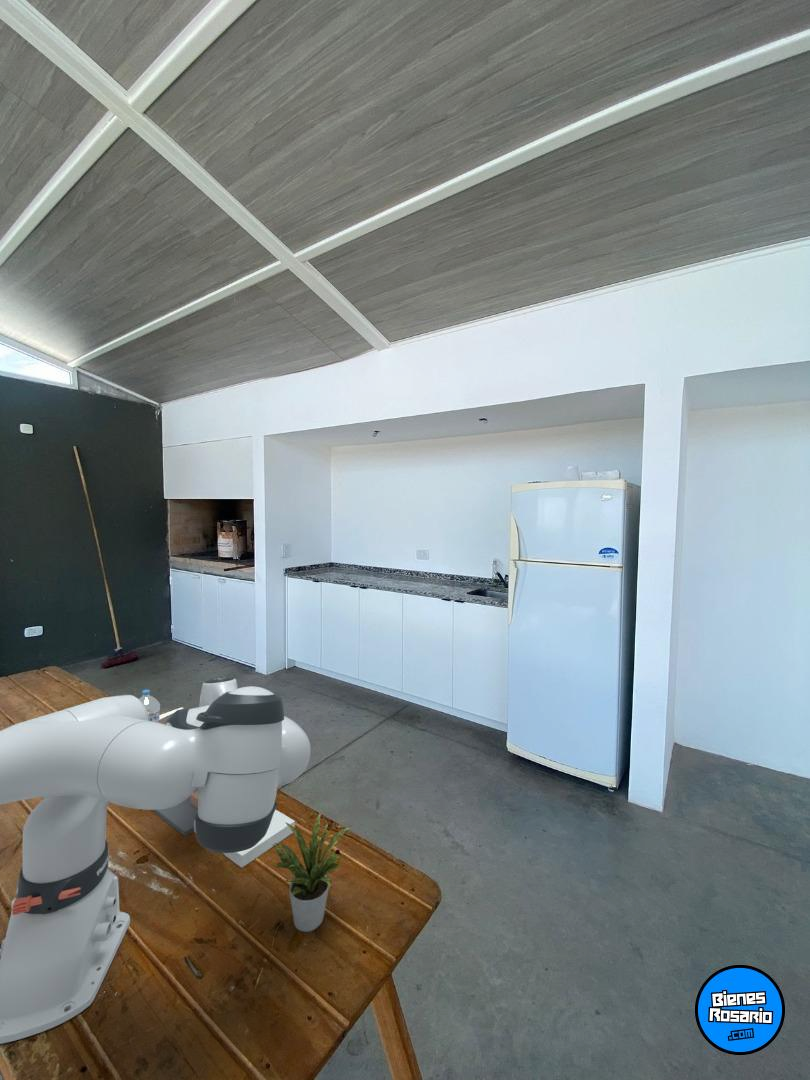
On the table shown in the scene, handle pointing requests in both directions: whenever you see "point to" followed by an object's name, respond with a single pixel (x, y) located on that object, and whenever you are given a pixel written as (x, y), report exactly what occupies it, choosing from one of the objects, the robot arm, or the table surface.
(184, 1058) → the table surface
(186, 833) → the rubber mat
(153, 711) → the water bottle
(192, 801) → the terracotta tile
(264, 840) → the white slab
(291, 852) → the house plant
